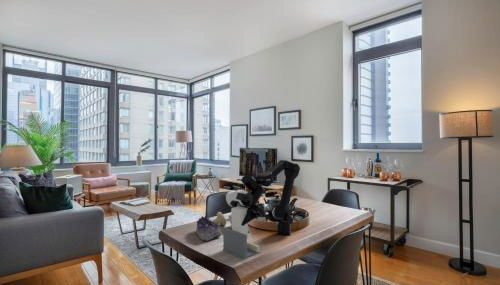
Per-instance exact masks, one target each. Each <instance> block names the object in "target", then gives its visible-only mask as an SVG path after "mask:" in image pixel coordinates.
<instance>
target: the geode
mask: <svg viewBox="0 0 500 285" xmlns="http://www.w3.org/2000/svg"><path fill="white" fill-rule="evenodd" d="M195 233H196V234H197V236H198V237H199V238H200V240H202V241H205V242H209V241H213V239H216V238H220V237H221V235H222V234H221V226H220V224H215V223H214V222H213V220H211V219H210V218H209V216H207V215H205V216H201V217H199V218H198V220H197V221H196V230H195Z"/></svg>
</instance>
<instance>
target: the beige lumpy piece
mask: <svg viewBox="0 0 500 285" xmlns="http://www.w3.org/2000/svg"><path fill="white" fill-rule="evenodd" d="M212 222H214V223H215V224H218V225H221V226H222V227H224V226H227V225H226V224H227V221H226V217H225V216H224V214H223V212H221V211H218V212H216V218H215V219H213V220H212Z"/></svg>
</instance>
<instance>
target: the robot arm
mask: <svg viewBox="0 0 500 285" xmlns="http://www.w3.org/2000/svg"><path fill="white" fill-rule="evenodd" d="M300 170H301V166H299V164H298V163H293V162H291V161H289V160H286V159H280V160H279V161H278V162H277V163H275V164H274V165H272V167H271V168H270V169H268V170H266V171H264V172H261V173H259V174H257V175H254V172H251V171H249V172H248V173H247V174H245V175H244V176H242V178H241V180H240V181H241V183H242V184H243V186H244V187H245V188H246V189H247V191H249V192H248V193H247V194H244V193H239V192H238V193H237V196H236V199H238V200H241V201H240V202H241V203H242V205H241V204H240V202H239V201H235V200H232V201H231V203H230V205H231V206H232V207H231V206H230V205H229V206H230V207H231V208H235V207H238V206H240V207H244V208H248V209H247V214H246V216H245V218H244V220H243V222H242V224H241V225H242V226H244V225H245V224H247V223H248V224H249V222H252V221H253V220H255V219H258V218H261V219H262V218H264V217H265V214H266V212H265V210H264V208H262V206H261V205H257V204H260V198H261V197H262V195H267V191H266V188H268V187H270V186H271V185H272V184H273V182H274V178H276V177H277V176H278V175H279V174H280V173H281V172H283V173H284V176H285V177H284V178H285V179H284V184H283V188H282V193H281V195H280V202H279V203H278V204H275V206H274V211H273V213H274V214H273V216H274V219H275V221H276V222H278V223H277V227H276V228H277V235H282V236H290V235H291V233H292V231H291V225H293V223H294V219H295V218H294V217H293V216H292V215H291V211H292V210H291V208H290V203H291V198H292V193H293V188H294V187H293V186H294V182H295V179H297V178H298V176H299V173H300ZM264 187H266V188H264Z"/></svg>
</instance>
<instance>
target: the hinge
mask: <svg viewBox="0 0 500 285" xmlns="http://www.w3.org/2000/svg"><path fill="white" fill-rule="evenodd" d="M228 218H229V219H228V220H229V223H230V226H231V227H232V216H231V214H229V215H228ZM249 233H251V231H250V229H249V228H248V234H249Z"/></svg>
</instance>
